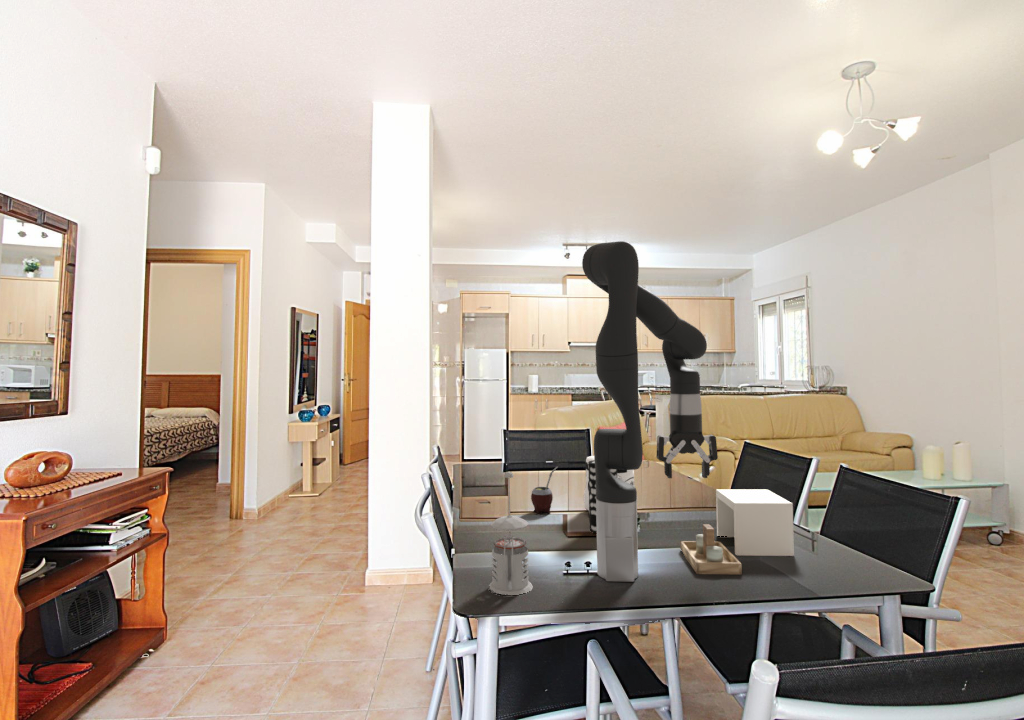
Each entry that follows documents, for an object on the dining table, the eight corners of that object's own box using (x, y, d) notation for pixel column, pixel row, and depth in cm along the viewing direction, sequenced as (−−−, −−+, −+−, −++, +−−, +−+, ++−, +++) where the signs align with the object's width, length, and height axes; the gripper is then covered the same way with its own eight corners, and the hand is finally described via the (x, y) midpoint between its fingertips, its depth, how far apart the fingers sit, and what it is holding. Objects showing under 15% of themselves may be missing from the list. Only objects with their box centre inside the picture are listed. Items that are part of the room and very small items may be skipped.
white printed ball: (642, 520, 170) (641, 462, 170) (586, 520, 170) (585, 462, 171) (632, 506, 187) (631, 453, 187) (581, 506, 188) (580, 454, 188)
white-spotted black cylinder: (617, 527, 163) (615, 459, 163) (619, 535, 154) (618, 464, 155) (588, 526, 164) (587, 459, 164) (590, 535, 155) (588, 464, 156)
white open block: (794, 555, 136) (792, 503, 136) (736, 555, 137) (734, 503, 137) (768, 536, 152) (767, 489, 152) (717, 536, 153) (715, 489, 153)
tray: (741, 574, 124) (740, 536, 124) (696, 573, 125) (695, 536, 125) (720, 551, 140) (719, 517, 140) (680, 550, 141) (679, 517, 141)
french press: (533, 578, 123) (531, 467, 124) (533, 599, 112) (531, 477, 112) (489, 578, 124) (488, 467, 124) (485, 599, 112) (483, 477, 113)
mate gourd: (527, 513, 180) (526, 467, 180) (540, 508, 186) (539, 464, 187) (546, 516, 176) (545, 469, 176) (559, 511, 182) (558, 466, 182)
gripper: (659, 414, 131) (661, 481, 131) (720, 412, 130) (721, 480, 130) (653, 411, 139) (654, 474, 139) (710, 409, 138) (711, 474, 138)
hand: (687, 477), depth 135 cm, fingers open, 8 cm apart
